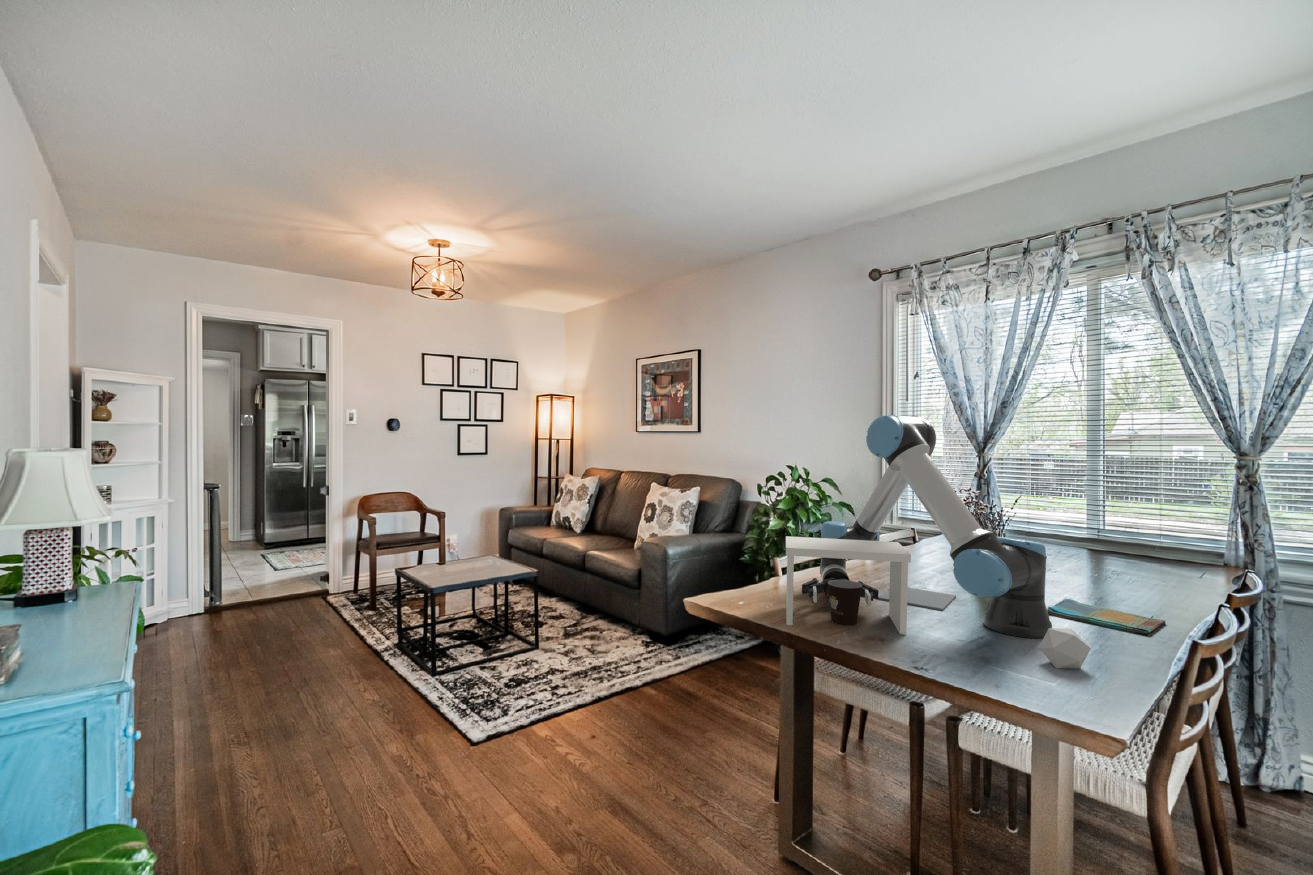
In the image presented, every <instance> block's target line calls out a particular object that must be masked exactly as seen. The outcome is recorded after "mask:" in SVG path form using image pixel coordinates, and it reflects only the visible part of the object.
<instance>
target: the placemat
mask: <svg viewBox="0 0 1313 875" xmlns="http://www.w3.org/2000/svg"><path fill="white" fill-rule="evenodd" d="M889 591H890V588H889V589H888V590H886V591H884V592H883V593H882V594H879V595H878V599H877V600H880V601H886V602H889ZM956 598H957V595H956V594H949V593H943V592H939V591H931V590H926V589H919V588H915V587H914V588H913V587H908V588H907V606H914V607H919V608H924V609H931V610H936V611H941V612H943V611H945V610H946V609H947V607H949V605H950V604H951V603H952V602H953V601H954V600H955V599H956Z"/></svg>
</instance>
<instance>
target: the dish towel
mask: <svg viewBox="0 0 1313 875" xmlns="http://www.w3.org/2000/svg"><path fill="white" fill-rule="evenodd" d="M1046 608H1047V612H1048V615H1049V616H1052V617H1055V618H1056V617H1057V618H1061V619H1068V620H1072V621H1078V622H1082V623H1087V624H1091V625H1096V626H1099V625H1100V626H1099V627H1103V628H1104V627H1105V628H1109V629H1114V630H1118V631H1123V632H1127V633H1132V634H1136V635H1141V636H1145V637H1150V636H1152V635H1153V634H1155V633H1156V632H1157V631H1159V630H1160V629H1162V628H1163V625H1164V626H1165V625H1167V624H1166V620H1164V619H1160V618H1159V619H1158V618H1151V617H1147V616H1144V615H1139V614H1134V613H1130V612H1124V611H1119V610H1118V609H1111V608H1106V607H1101V606H1095V605H1091V604H1087V603H1083V602H1079V601H1076V600H1073V599H1072V598H1067V597H1066V598H1064V599H1062V600H1060V601H1059V602H1058V603H1055V604H1054V605H1052V606H1048V607H1046Z"/></svg>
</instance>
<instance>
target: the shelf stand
mask: <svg viewBox="0 0 1313 875" xmlns="http://www.w3.org/2000/svg"><path fill="white" fill-rule="evenodd" d="M785 556H786V596H785V597H786V600H785V602H786V603H785V614H786V615H785V616H786V621H785V622H786V624H785V625H786V626H793V622H794V621H793V620H794V619H793V618H794V617H793V616H794V615H793V614H794V570H795V569H794V568H795V562H794V561H795V557H806V558H821V557H822V558H839V559H846V560H860V561H873V562H877V561H878V562H889V589H890V591H889V601H888V602H889V604H888V606H889V607H888V616H889V617H890V619H891V621H892V623H893V624H894V626H895V629H896V630H897V631H898V633H899V634H900V635H905V636H906V635H907V631H908V630H907V629H908V628H907V624H908V622H907V621H908V605H907V588H909V587H908V583H909V582H908V581H909V578H908V577H909V563H911V562H912V560H911V559H912V553H910V552H909V551H908V550H907V549H906V548H905V547H904V546H902V544H901V543H900V542H899V541H883V540H879V541H867V540H848V539H829V538H822V537H810V536H809V537H807V536H805V537H803V536H787V535H786V536H785Z"/></svg>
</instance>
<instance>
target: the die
mask: <svg viewBox="0 0 1313 875" xmlns="http://www.w3.org/2000/svg"><path fill="white" fill-rule="evenodd" d="M1038 649H1039V651H1040V652H1041V653H1042V654H1043V655H1044V657H1046V658H1047V659H1048V661H1050V663H1051V664H1052V665H1053V666H1054V668H1056V669H1064V670H1065V669H1072V670H1073V669H1074V670H1076V669H1077V670H1079V669H1081V668H1082V666H1083V664H1084V663H1085V660H1086V659H1087V657H1088V656H1089V654H1090V653H1089V652H1090V651H1091V649H1092V648H1091V647H1090V645H1088V644H1087V643H1086V641H1084V640H1083V638H1082V637H1080V635H1078V634H1077V633H1076V631H1074V629H1072V628H1057V627H1056V628H1054V627H1052V628H1049V629H1048V631H1047V633H1046V635H1045V636H1044V638H1043V639H1042V641H1040V644H1039V646H1038Z"/></svg>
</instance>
